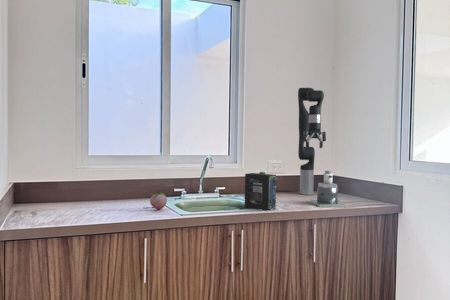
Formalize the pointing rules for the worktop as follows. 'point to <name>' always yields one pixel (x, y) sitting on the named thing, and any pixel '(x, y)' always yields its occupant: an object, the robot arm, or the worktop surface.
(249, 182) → the black labelled box
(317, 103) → the robot arm
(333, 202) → the motor
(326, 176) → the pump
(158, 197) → the decorative fruit
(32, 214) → the worktop surface
